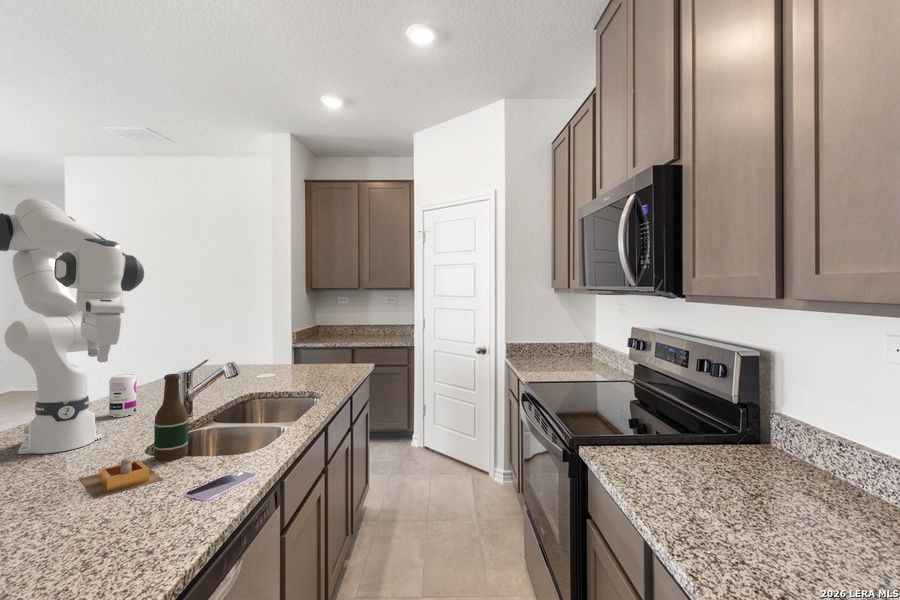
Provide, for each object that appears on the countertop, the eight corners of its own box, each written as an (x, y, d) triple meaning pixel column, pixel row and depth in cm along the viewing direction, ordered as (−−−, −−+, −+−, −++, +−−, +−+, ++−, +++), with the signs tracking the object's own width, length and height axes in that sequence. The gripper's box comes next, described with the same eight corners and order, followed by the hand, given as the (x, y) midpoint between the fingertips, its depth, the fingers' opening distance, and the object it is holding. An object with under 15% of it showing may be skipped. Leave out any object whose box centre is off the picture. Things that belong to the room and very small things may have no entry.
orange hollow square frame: (98, 482, 101) (98, 469, 101) (138, 471, 107) (139, 459, 107) (106, 492, 95) (107, 478, 95) (149, 480, 102) (149, 468, 102)
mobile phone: (182, 493, 97) (236, 469, 111) (182, 497, 97) (236, 472, 111) (206, 499, 95) (259, 473, 109) (206, 503, 95) (259, 477, 109)
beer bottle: (171, 468, 113) (172, 377, 113) (146, 465, 114) (147, 376, 114) (194, 457, 121) (195, 372, 120) (171, 455, 122) (171, 371, 122)
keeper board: (78, 484, 102) (78, 453, 102) (143, 468, 112) (143, 440, 112) (94, 505, 92) (94, 471, 92) (163, 486, 102) (164, 454, 102)
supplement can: (135, 411, 168) (135, 373, 168) (136, 415, 161) (137, 376, 161) (108, 414, 163) (109, 375, 163) (109, 419, 156) (109, 378, 156)
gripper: (74, 301, 111) (72, 354, 111) (93, 306, 98) (91, 366, 98) (104, 301, 116) (102, 352, 116) (127, 306, 103) (124, 363, 103)
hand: (97, 358), depth 107 cm, fingers open, 8 cm apart
